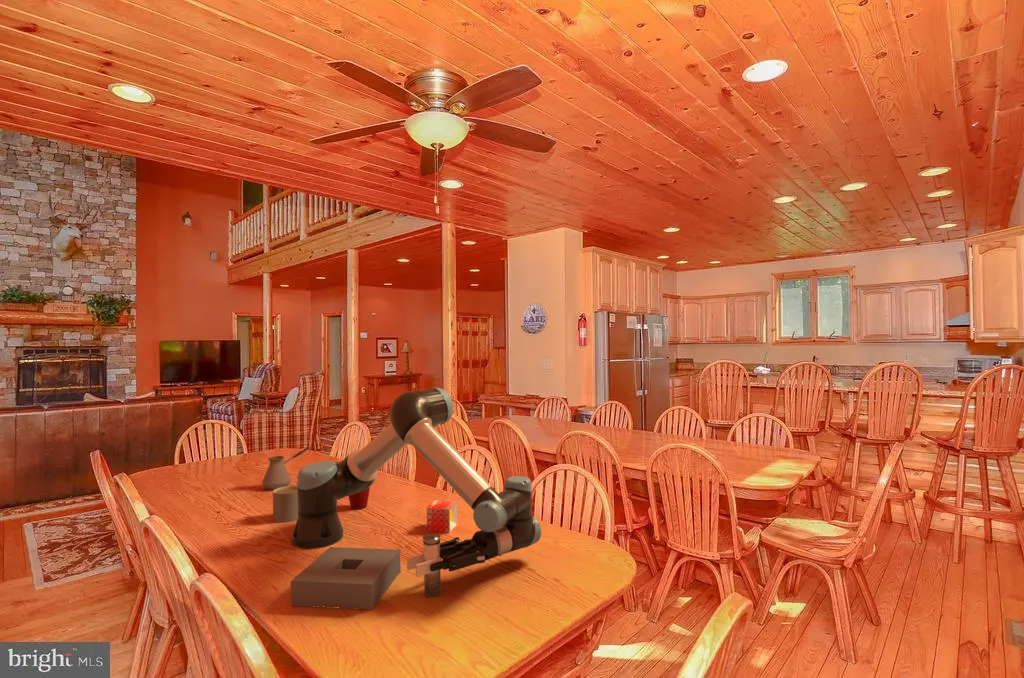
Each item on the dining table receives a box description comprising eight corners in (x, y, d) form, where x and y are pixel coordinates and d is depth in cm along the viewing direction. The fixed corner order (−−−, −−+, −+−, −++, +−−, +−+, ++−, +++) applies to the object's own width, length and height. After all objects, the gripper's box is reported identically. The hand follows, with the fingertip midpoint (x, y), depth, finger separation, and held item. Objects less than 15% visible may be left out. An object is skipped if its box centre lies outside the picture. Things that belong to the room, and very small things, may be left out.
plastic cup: (337, 510, 193) (336, 478, 193) (356, 501, 203) (355, 470, 203) (361, 513, 189) (360, 480, 189) (379, 504, 199) (378, 473, 199)
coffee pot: (269, 493, 216) (269, 457, 216) (257, 488, 224) (256, 453, 224) (317, 481, 233) (317, 448, 232) (304, 477, 240) (304, 445, 240)
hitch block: (291, 605, 124) (290, 580, 124) (330, 568, 144) (330, 547, 144) (371, 610, 121) (371, 584, 121) (400, 571, 141) (400, 549, 141)
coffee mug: (283, 524, 179) (283, 495, 179) (267, 518, 185) (267, 490, 185) (317, 513, 190) (317, 485, 190) (301, 508, 196) (300, 481, 196)
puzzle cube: (449, 533, 169) (449, 508, 169) (426, 531, 171) (426, 507, 170) (457, 524, 177) (457, 501, 177) (435, 523, 178) (434, 500, 178)
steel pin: (421, 597, 127) (421, 540, 127) (426, 589, 131) (425, 533, 131) (438, 598, 127) (437, 540, 126) (442, 589, 131) (442, 534, 131)
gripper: (510, 567, 133) (429, 596, 119) (473, 547, 147) (396, 570, 132) (510, 538, 133) (429, 563, 119) (473, 520, 147) (396, 541, 132)
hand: (412, 567), depth 126 cm, fingers closed on steel pin, 4 cm apart
